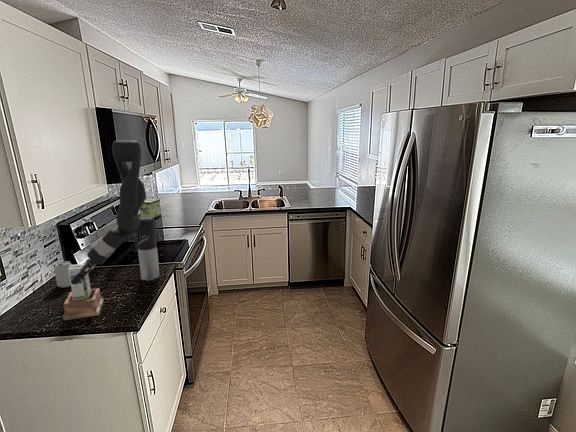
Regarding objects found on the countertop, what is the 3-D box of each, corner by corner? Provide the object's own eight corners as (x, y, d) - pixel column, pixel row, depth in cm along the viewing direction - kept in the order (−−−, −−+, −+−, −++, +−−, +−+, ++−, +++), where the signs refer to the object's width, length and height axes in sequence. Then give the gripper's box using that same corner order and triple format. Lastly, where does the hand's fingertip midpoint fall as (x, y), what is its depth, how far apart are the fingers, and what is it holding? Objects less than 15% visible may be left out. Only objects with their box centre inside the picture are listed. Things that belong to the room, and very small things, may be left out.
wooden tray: (71, 305, 151) (69, 291, 149) (103, 300, 155) (101, 286, 154) (63, 320, 139) (60, 305, 138) (98, 315, 144) (96, 300, 142)
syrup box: (72, 301, 142) (67, 269, 138) (77, 294, 147) (71, 264, 144) (88, 299, 143) (82, 267, 140) (91, 292, 149) (86, 262, 145)
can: (56, 284, 171) (52, 262, 167) (73, 280, 175) (70, 259, 172) (58, 289, 165) (54, 267, 162) (76, 285, 170) (72, 263, 167)
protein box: (140, 219, 289) (138, 201, 285) (151, 215, 303) (149, 198, 299) (151, 220, 287) (149, 202, 282) (161, 215, 301) (160, 198, 297)
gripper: (97, 240, 149) (71, 268, 148) (90, 251, 136) (61, 282, 135) (112, 250, 152) (86, 278, 151) (107, 261, 139) (79, 292, 138)
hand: (75, 279), depth 143 cm, fingers closed on syrup box, 6 cm apart
